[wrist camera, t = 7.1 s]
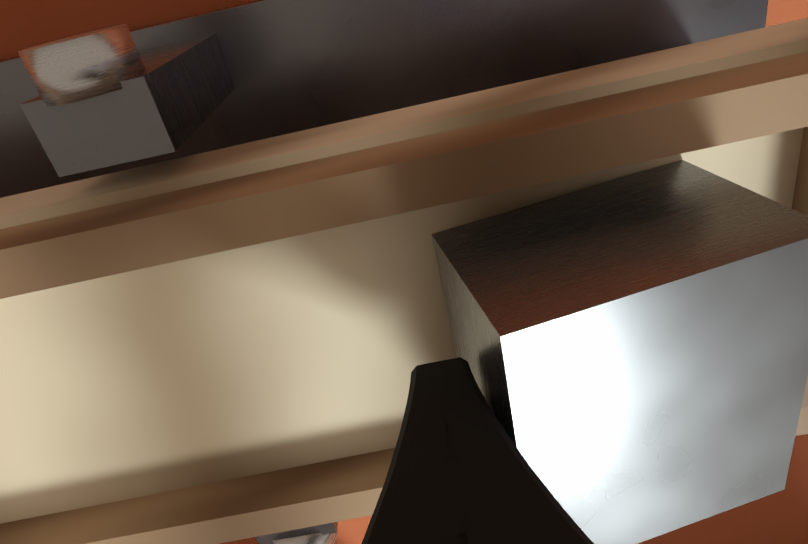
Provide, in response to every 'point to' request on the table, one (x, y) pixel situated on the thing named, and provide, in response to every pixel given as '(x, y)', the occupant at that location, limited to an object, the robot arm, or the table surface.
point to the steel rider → (639, 343)
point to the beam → (316, 287)
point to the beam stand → (303, 78)
